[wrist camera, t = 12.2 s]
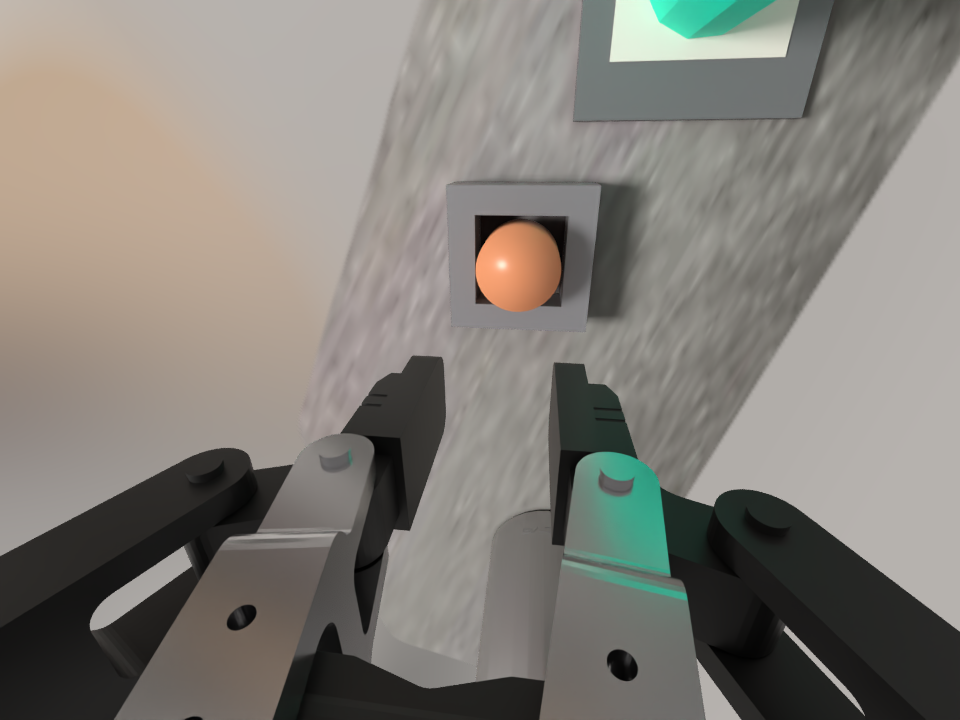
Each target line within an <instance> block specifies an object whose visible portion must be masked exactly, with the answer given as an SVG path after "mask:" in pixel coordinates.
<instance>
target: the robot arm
mask: <svg viewBox="0 0 960 720" xmlns="http://www.w3.org/2000/svg"><path fill="white" fill-rule="evenodd" d="M445 419H446V404H445V382H444V364H443V359H442V357H433V356H412V357H411V359H410V360H409V362H408V363H407V365H406V367H405V368H404V370H403V371H402V373H391V374H389V375H387V376H386V377H384V378H383V379H381V380H379V381H378V382H376V384H375V385H374V387H373V388H372V389H371V391H370V392H369V395H368V396H366V398H365V399H364V401H363V402H362V406H359V408H358V409H357V411H356V412H355V413H354V415H353V416H352V418H351V419H350V421H349V422H348V423H347V425H346V426H345V428H344V429H343V430H342V432H341V433H340V434H335V435H330V436H326V437H324V438H321V439H319V440H317V441H314V442H313V443H311V444H309V445H308V446H307V447H306V448H304V449H303V450H302V451H301V453H300V454H299V456H298V457H297V459H296V461H295V463H294V464H293V465H287V466H280V467H273V468H266V469H259V470H253V467H252V463H251V460H250V457H249V455H248V454H247V453H246V452H244V451H242V450H239V449H234V448H221V449H214V450H209V451H206V452H202V453H199V454H197V455H194V456H192V457H190V458H187V459H185V460H183V461H182V462H180V463H178V464H176V465H174V466H172V467H170V468H168V469H166V470H164V471H162V472H160V473H159V474H157V475H155V476H153V477H151V478H149V479H147V480H145V481H143V482H141V483H139V484H138V485H136V486H134V487H132V488H130V489H128V490H126V491H124V492H122V493H120V494H119V495H116V496H115V497H113V498H111V499H109V500H107V501H105V502H103V503H101V504H99V505H97V506H95V507H93V508H92V509H90V510H88V511H86V512H84V513H82V514H81V515H78V516H76V517H74V518H72V519H71V520H69V521H67V522H65V523H63V524H61V525H59V526H57V527H55V528H53V529H51V530H49V531H48V532H46V533H44V534H42V535H40V536H38V537H36V538H34V539H32V540H30V541H28V542H26V543H25V544H23V545H21V546H19V547H17V548H15V549H13V550H11V551H9V552H7V553H6V554H4V555H2V556H0V720H706V719H705V712H704V705H703V699H702V692H701V685H700V679H699V672H698V666H697V659H698V661H699V662H700V663H701V665H702V666H703V667H704V669H705V670H706V672H707V673H708V674H709V676H710V677H711V678H712V680H713V681H714V683H715V684H716V685H717V687H718V688H719V689H720V691H721V692H722V694H723V695H724V696H725V698H726V699H727V700H728V702H729V703H730V705H731V706H732V707H733V709H734V710H735V711H736V713H737V714H738V716H739V717H740V718H741V720H960V632H959V631H958V630H957V629H955V628H954V627H953V626H951V625H950V624H949V623H947V622H946V621H945V620H943V619H942V618H941V617H939V616H938V615H937V614H936V613H934V612H933V611H932V610H930V609H929V608H928V607H926V606H925V605H924V604H922V603H921V602H920V601H918V600H917V599H916V598H915V597H913V596H912V595H911V594H909V593H908V592H906V591H905V590H904V589H902V588H901V587H900V586H899V585H897V584H896V583H895V582H893V581H892V580H891V579H889V578H888V577H887V576H886V575H884V574H883V573H882V572H880V571H879V570H878V569H876V568H875V567H874V566H872V565H871V564H870V563H868V562H867V561H866V560H864V559H863V558H862V557H860V556H859V555H858V554H856V553H855V552H854V551H853V550H851V549H850V548H849V547H847V546H845V544H843V543H842V542H841V541H839V540H838V539H837V538H835V537H834V536H833V535H831V534H830V533H829V532H827V531H826V530H825V529H824V528H822V527H821V526H820V525H818V524H817V523H816V522H814V521H813V520H812V519H810V518H809V517H808V516H806V515H805V514H804V513H802V512H801V511H800V510H798V509H797V508H795V507H794V506H792V505H790V504H789V503H787V502H785V501H783V500H781V499H779V498H777V497H774V496H772V495H769V494H766V493H762V492H759V491H753V490H745V489H744V490H743V489H742V490H741V489H740V490H731V491H727V492H725V493H723V494H721V495H720V496H719V497H718V498H717V500H716V502H715V505H714V507H712V506H709V505H705V504H702V503H699V502H695V501H692V500H689V499H685V498H682V497H680V496H677V495H674V494H672V493H670V492H668V491H666V490H664V489H662V488H661V487H660V484H659V480H658V478H657V476H656V475H655V473H654V472H653V471H652V470H651V469H650V468H649V467H648V466H647V465H645V464H644V463H643V462H641V461H639V460H638V458H637V455H636V452H635V449H634V446H633V443H632V439H631V436H630V433H629V430H628V427H627V424H626V423H625V418H624V414H623V412H622V408H621V405H620V402H619V399H618V396H617V395H616V394H615V393H614V392H613V391H612V390H610V389H609V388H608V387H607V386H606V385H601V384H588V380H587V376H586V371H585V366H584V364H572V363H554V365H553V375H552V388H551V401H550V414H549V473H550V505H551V511H534V512H527V513H523V514H520V515H517V516H515V517H513V518H511V519H509V520H508V521H506V522H505V523H504V524H503V525H502V526H501V527H499V529H498V530H497V532H496V533H495V535H494V538H493V542H492V548H491V556H490V565H489V573H488V581H487V588H486V596H485V604H484V613H483V621H482V629H481V638H480V646H479V654H478V663H477V671H476V680H475V682H472V683H466V684H459V685H453V686H446V687H440V688H431V689H429V688H423V687H419V686H417V685H415V684H413V683H411V682H409V681H407V680H405V679H402V678H400V677H398V676H396V675H394V674H392V673H390V672H388V671H386V670H383V669H381V668H379V667H377V666H375V665H373V664H371V656H372V647H373V640H374V635H375V630H376V624H377V619H378V613H379V608H380V602H381V597H382V591H383V586H384V580H385V575H386V569H387V564H388V557H389V554H388V546H387V545H388V542H389V540H390V537H391V534H392V532H393V529H397V530H408V531H410V529H411V526H412V523H413V520H414V517H415V514H416V511H417V508H418V506H419V503H420V500H421V497H422V494H423V491H424V488H425V485H426V482H427V479H428V476H429V473H430V471H431V468H432V465H433V462H434V459H435V456H436V453H437V450H438V447H439V444H440V441H441V438H442V435H443V432H444V427H445ZM183 546H184V548H185V550H186V552H187V555H188V557H189V559H190V562H191V564H192V567H190V568H189V569H188V570H186V571H185V572H183V573H182V574H180V575H179V576H178V577H176V578H175V579H173V580H172V581H171V582H169V583H168V584H166V585H165V586H164V587H162V588H161V589H160V590H158V591H157V592H155V593H154V594H152V595H151V596H150V597H148V598H147V599H145V600H144V601H143V602H141V603H140V604H138V605H137V606H136V607H134V608H133V609H132V610H130V611H128V612H127V613H126V614H124V615H123V616H122V617H120V618H119V619H117V620H116V621H114V622H113V623H111V624H110V625H108V626H106V627H104V628H101V629H98V630H93V631H91V630H90V620H91V617H92V615H93V613H94V611H95V610H96V608H97V607H98V606H99V605H100V604H101V603H102V601H103V600H104V599H106V598H107V597H108V596H110V595H111V594H112V593H114V592H115V591H117V590H118V589H120V588H121V587H123V586H124V585H125V584H127V583H129V582H130V581H132V580H133V579H135V578H136V577H138V576H139V575H141V574H142V573H144V572H145V571H147V570H148V569H150V568H151V567H153V566H154V565H156V564H157V563H159V562H160V561H162V560H163V559H165V558H166V557H168V556H169V555H171V554H172V553H174V552H175V551H176V550H178V549H180V548H181V547H183ZM785 626H787V627H788V628H789V629H790V630H791V631H792V632H793V633H794V634H795V635H796V636H797V637H798V638H799V639H800V640H801V641H802V642H803V643H804V644H805V645H806V647H808V649H809V650H810V651H811V652H812V653H813V654H814V655H815V656H816V657H817V658H818V659H819V660H820V661H821V662H822V663H823V664H824V665H825V666H826V667H827V668H828V669H829V670H830V671H831V672H832V673H833V674H834V675H835V676H836V677H837V679H838V680H839V681H840V682H841V683H842V684H843V685H844V686H845V687H846V688H847V689H848V690H849V691H850V692H851V694H852V695H853V696H854V697H855V699H856V700H857V702H858V703H859V705H860V707H861V708H862V710H863V712H864V714H865V716H864V715H863V714H862V713H861V712H860V710H859V709H858V708H857V707H856V706H855V705H854V704H853V703H852V702H851V701H850V700H849V699H848V698H847V697H846V696H845V695H844V694H843V693H842V692H841V691H840V690H839V689H838V687H837V686H836V685H835V684H834V683H833V682H832V681H831V680H830V679H829V678H828V677H827V676H826V675H825V674H824V673H823V672H822V671H821V670H820V669H819V667H817V666H816V664H815V663H814V662H813V661H812V660H811V659H810V658H809V657H808V656H807V655H806V654H805V653H804V652H803V651H802V650H801V649H800V648H799V646H798V645H797V644H796V643H795V642H794V641H793V640H792V639H791V638H790V637H789V636H788V635H787V634H786V633H785V632H784V631H783V630H784V628H785ZM696 658H697V659H696Z"/></svg>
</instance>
